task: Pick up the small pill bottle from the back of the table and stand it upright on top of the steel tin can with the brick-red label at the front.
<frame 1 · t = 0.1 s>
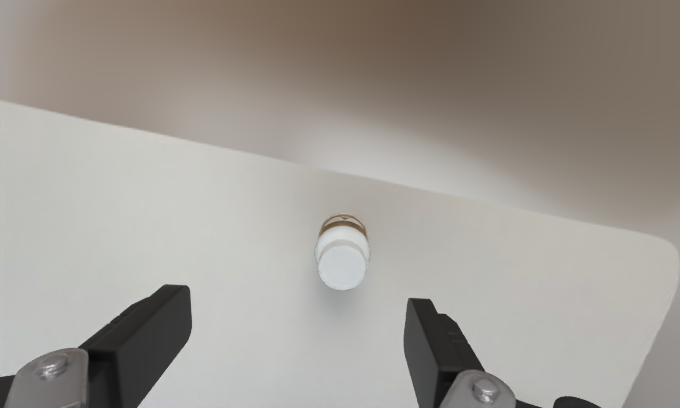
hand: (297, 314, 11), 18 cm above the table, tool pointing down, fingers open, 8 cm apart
pill bottle: (342, 233, 30), on the table
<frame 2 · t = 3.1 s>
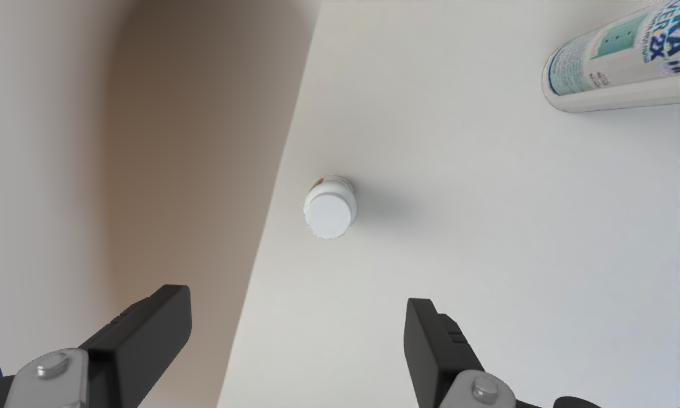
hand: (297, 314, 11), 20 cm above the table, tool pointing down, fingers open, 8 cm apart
pill bottle: (332, 197, 31), on the table
spray can: (575, 76, 28), on the table
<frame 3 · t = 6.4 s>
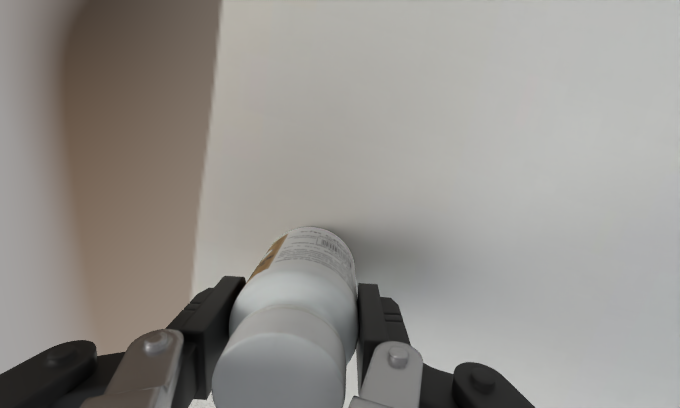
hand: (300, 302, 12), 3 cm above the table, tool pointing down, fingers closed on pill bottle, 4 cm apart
pill bottle: (310, 265, 16), on the table, touching gripper
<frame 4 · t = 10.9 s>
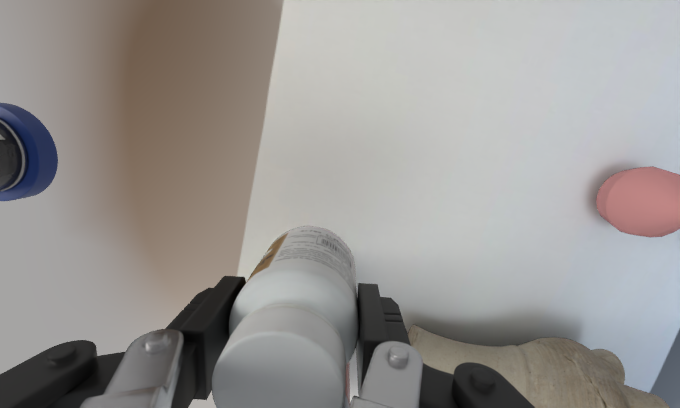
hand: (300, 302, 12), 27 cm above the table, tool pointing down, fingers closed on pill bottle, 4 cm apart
pill bottle: (310, 265, 16), point 24 cm above the table, touching gripper
vase: (473, 347, 43), on the table
pink rounded piece: (613, 195, 38), on the table
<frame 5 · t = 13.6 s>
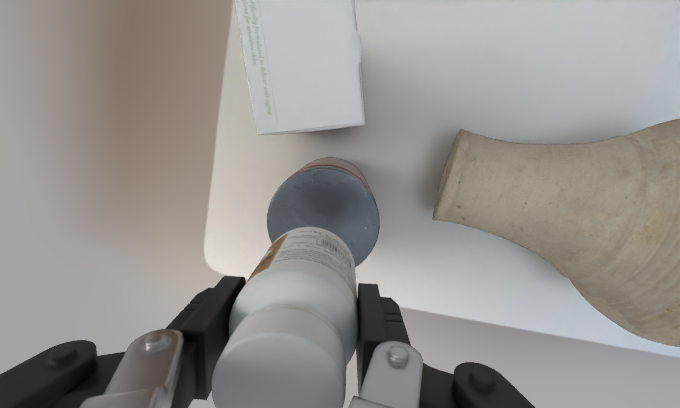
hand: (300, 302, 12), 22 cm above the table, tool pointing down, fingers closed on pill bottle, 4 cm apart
cosmetic box: (321, 91, 32), on the table
pill bottle: (310, 265, 16), point 19 cm above the table, touching gripper
tin can: (330, 196, 34), on the table
vase: (530, 183, 33), on the table
when the fingers open (14 cm above the table, at t = 15.8 s): pill bottle stays where it is, resting on tin can.
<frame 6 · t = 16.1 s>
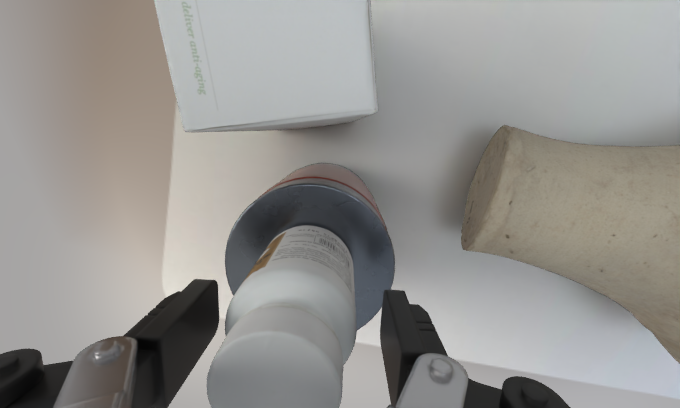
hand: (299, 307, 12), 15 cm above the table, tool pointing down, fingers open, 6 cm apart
cosmetic box: (312, 75, 24), on the table
pill bottle: (308, 264, 16), point 11 cm above the table, touching tin can
tin can: (324, 213, 26), on the table, touching pill bottle
vase: (584, 196, 26), on the table
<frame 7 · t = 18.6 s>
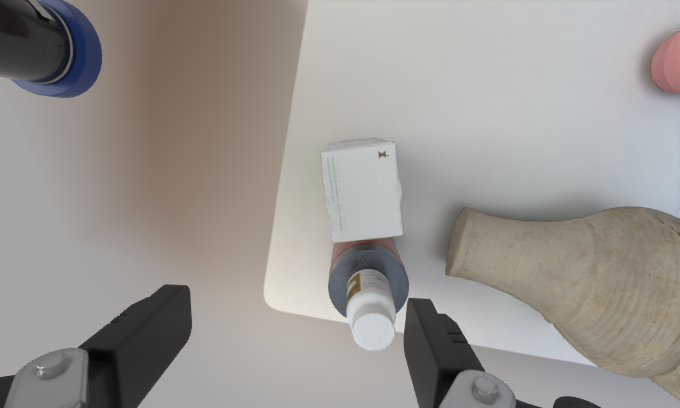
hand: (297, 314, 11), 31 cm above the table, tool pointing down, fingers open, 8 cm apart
cosmetic box: (357, 172, 41), on the table
pill bottle: (367, 286, 33), point 11 cm above the table, touching tin can
tin can: (363, 250, 43), on the table, touching pill bottle
vase: (521, 239, 42), on the table
pink rounded piece: (667, 65, 37), on the table
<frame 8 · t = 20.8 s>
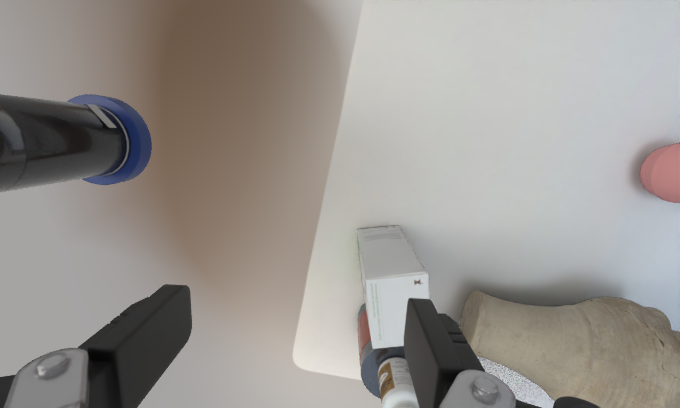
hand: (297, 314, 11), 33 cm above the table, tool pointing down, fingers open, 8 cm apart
cosmetic box: (381, 252, 46), on the table
pill bottle: (395, 370, 38), point 11 cm above the table, touching tin can
tin can: (384, 319, 48), on the table, touching pill bottle
vase: (525, 311, 48), on the table
pink rounded piece: (654, 169, 43), on the table
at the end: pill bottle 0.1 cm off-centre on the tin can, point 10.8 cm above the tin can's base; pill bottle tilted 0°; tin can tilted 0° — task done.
